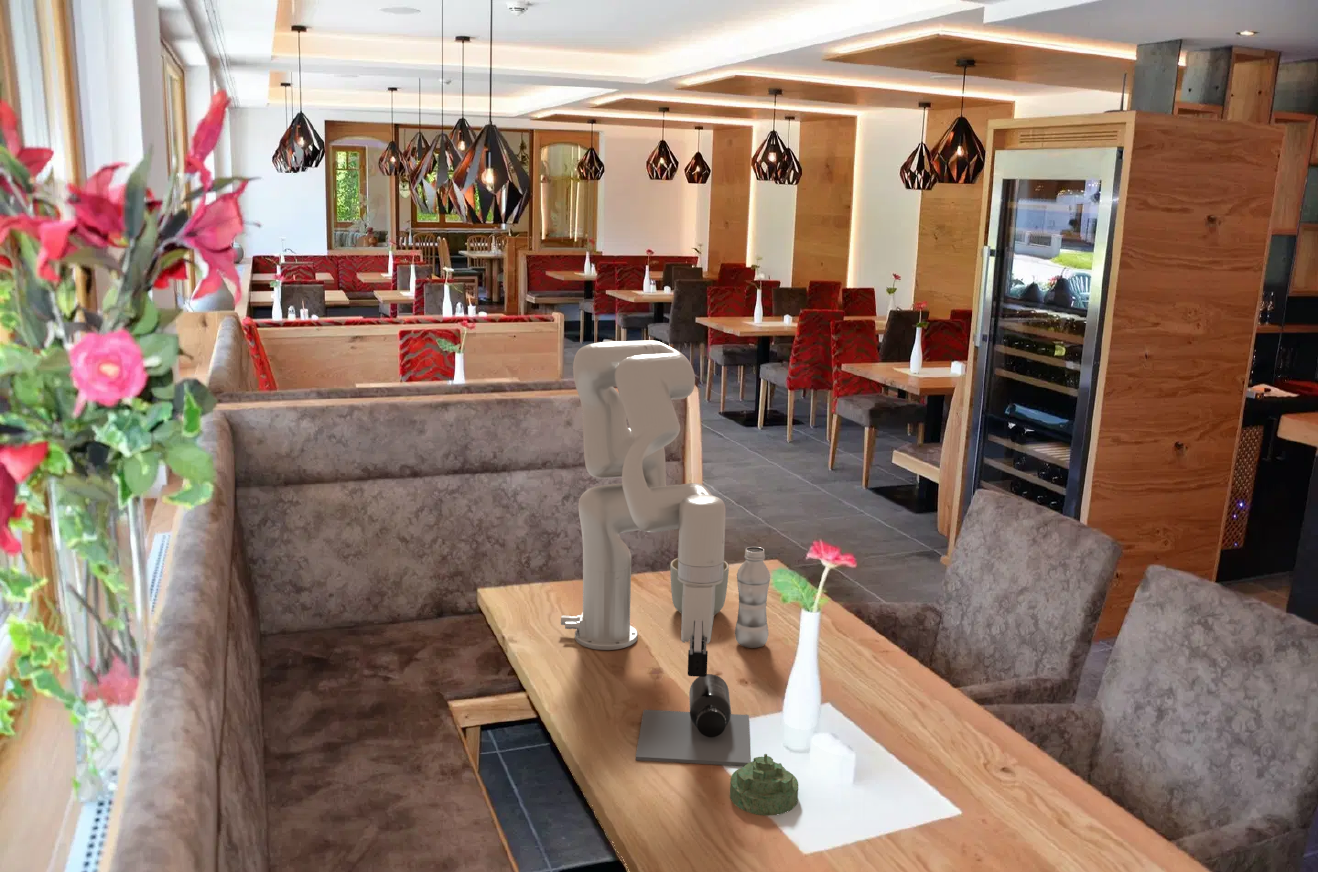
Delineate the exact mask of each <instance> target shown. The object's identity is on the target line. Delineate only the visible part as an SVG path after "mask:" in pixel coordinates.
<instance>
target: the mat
mask: <svg viewBox="0 0 1318 872" xmlns="http://www.w3.org/2000/svg"><path fill="white" fill-rule="evenodd" d="M641 717H642V718H641V723H640V729H639V735H638V741H637V747H636V753H635V761H642V762H643V761H644V762H662V763H663V762H664V763H681V764H701V765H714V766H715V765H717V766H718V765H719V766H734V765H738V766H739V767H744V766H745V765H746V764H748V763H750V762H751V746H750V745H751V743H750V739H751V738H750V719H749V718H750V714H737V713H731V718H730V721H729V723H728V724H727V725H726V727H725V729H724V731H723V732H722V734H720V735H718V736H716V737H712V738H711V737H706V736H704V735H703V734H701V733H700V732H699V730H698V728H697V727H696V726H695V725H694V724H693V722H692V720H691V717H690V711H680V710H679V711H676V710H659V709H643V711H642V716H641ZM738 766H737V767H738Z"/></svg>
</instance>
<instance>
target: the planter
mask: <svg viewBox="0 0 1318 872" xmlns="http://www.w3.org/2000/svg"><path fill="white" fill-rule="evenodd" d="M669 565H670V568H669V569H670V575H669V576H670V591H671V592H670V593H671V599H672V604H673V607H674V608H675V610H677V612H679V613H680V614H681V615H682V596H683V584H684V583H681V582H680V581H679V580H678V578H677V577H678V557H677V558H674V559H673V560H672V561H671V562H670V564H669ZM729 568H730V567H729V563H728V562H726V560H724V569H723V581H722V582H721V583H720V584H717V585H716V587H715V607H714V616H715V615H717V614H718V613H720V612H721V611H722V609H723V607H724V605H725V602H726V597H727V592H728V582H729V574H730V573H729V571H730V569H729Z"/></svg>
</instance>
